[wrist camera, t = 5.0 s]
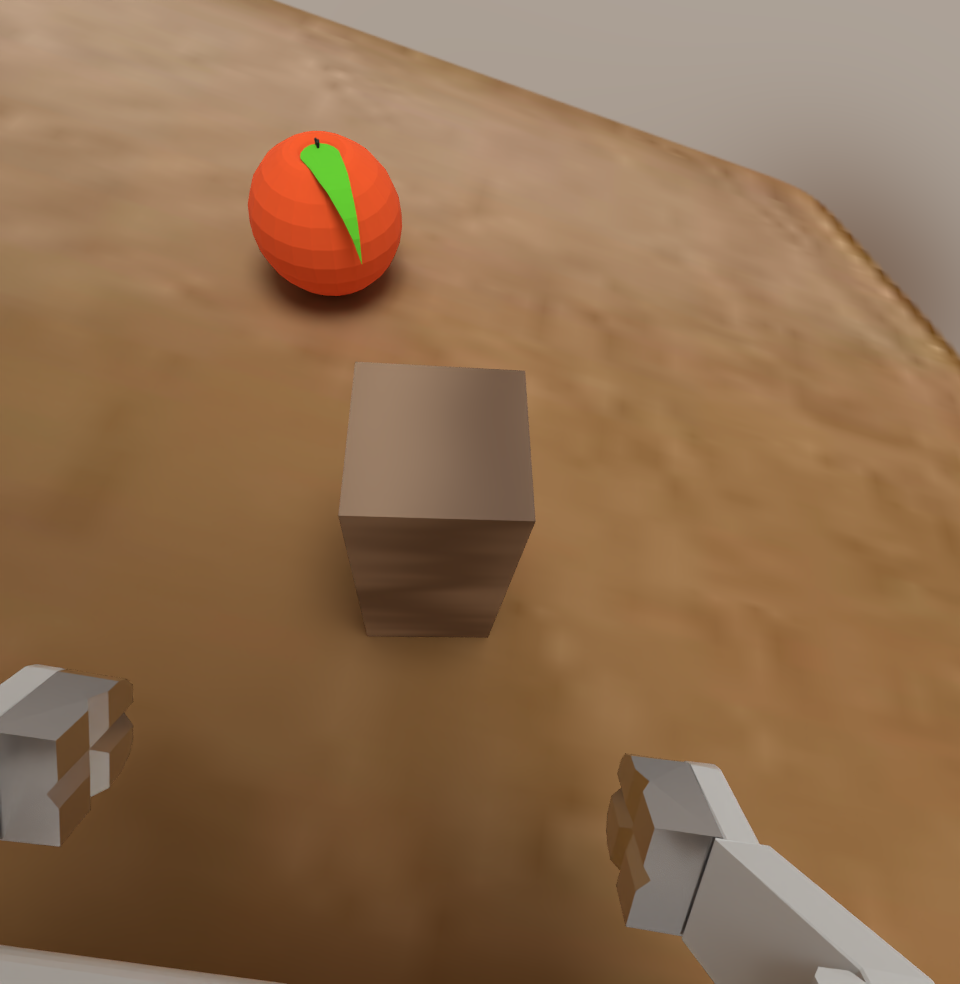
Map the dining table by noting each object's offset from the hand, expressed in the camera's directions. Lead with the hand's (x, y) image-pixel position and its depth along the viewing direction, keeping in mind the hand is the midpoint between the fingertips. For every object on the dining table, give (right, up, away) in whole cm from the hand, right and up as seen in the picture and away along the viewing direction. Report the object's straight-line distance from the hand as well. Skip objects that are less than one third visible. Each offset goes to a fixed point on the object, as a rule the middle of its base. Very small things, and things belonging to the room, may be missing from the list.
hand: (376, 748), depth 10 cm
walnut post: (0, +1, +14) cm, 14 cm away
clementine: (-6, +15, +21) cm, 26 cm away
